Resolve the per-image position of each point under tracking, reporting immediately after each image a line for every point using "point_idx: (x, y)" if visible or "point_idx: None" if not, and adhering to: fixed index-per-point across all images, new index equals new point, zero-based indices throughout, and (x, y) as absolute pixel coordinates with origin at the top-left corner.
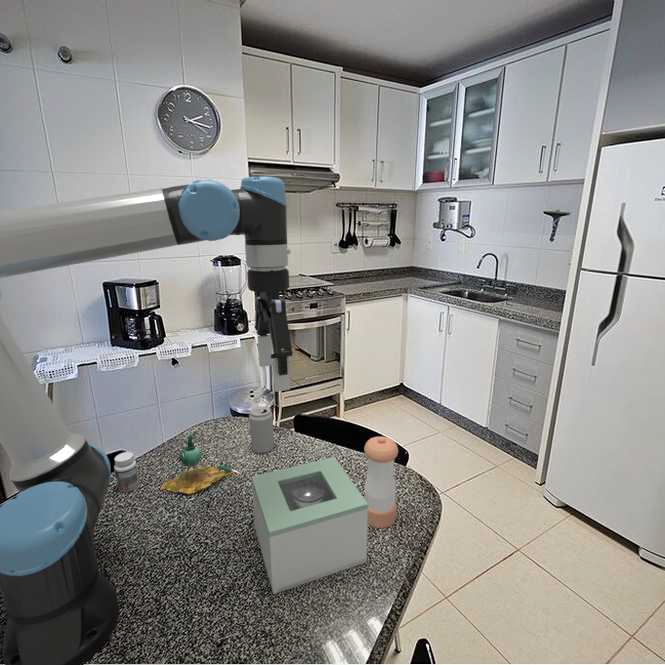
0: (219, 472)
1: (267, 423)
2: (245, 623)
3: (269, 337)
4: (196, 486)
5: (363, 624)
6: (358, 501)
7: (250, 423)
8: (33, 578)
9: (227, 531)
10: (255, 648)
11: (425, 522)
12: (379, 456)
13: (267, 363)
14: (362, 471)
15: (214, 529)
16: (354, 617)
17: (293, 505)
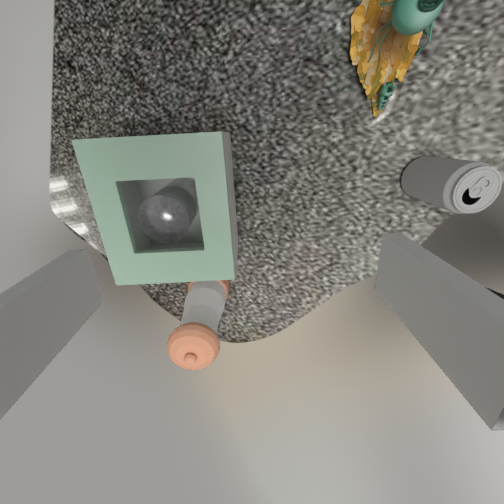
0: (376, 84)
1: (435, 196)
2: (92, 99)
3: (485, 408)
4: (360, 34)
5: (81, 219)
6: (123, 276)
7: (460, 161)
8: None
9: (239, 89)
10: (63, 106)
11: None
12: (169, 338)
13: (383, 272)
14: (292, 294)
15: (250, 68)
16: (89, 213)
17: (162, 190)
